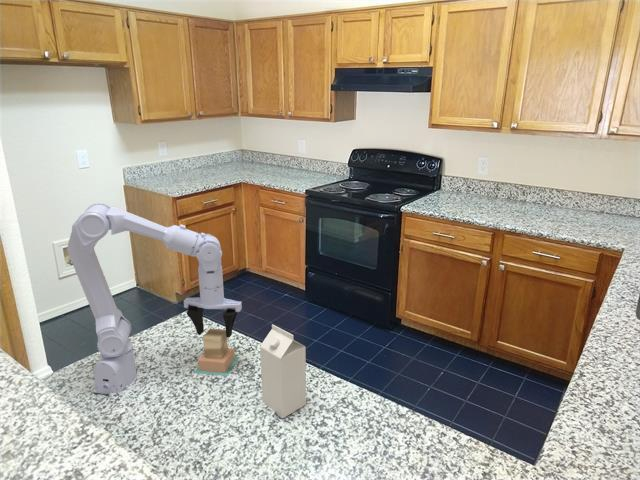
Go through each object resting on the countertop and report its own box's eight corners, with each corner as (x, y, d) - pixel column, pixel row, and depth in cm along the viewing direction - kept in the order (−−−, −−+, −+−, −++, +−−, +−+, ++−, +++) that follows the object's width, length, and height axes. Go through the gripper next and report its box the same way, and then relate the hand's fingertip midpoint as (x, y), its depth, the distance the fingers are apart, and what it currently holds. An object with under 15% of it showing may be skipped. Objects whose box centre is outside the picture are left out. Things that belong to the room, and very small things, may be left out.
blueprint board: (229, 385, 110) (229, 382, 110) (183, 380, 112) (183, 377, 112) (248, 355, 124) (248, 352, 123) (206, 351, 126) (206, 348, 125)
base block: (225, 373, 114) (224, 362, 113) (198, 370, 115) (197, 360, 114) (234, 358, 120) (234, 348, 120) (209, 356, 122) (209, 346, 121)
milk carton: (286, 391, 108) (284, 319, 103) (306, 405, 103) (305, 329, 98) (262, 404, 103) (259, 329, 98) (282, 419, 98) (280, 341, 93)
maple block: (221, 359, 114) (220, 338, 113) (204, 357, 115) (203, 336, 114) (228, 350, 119) (226, 329, 117) (211, 348, 119) (210, 328, 118)
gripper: (244, 280, 114) (247, 329, 118) (190, 277, 116) (194, 324, 120) (235, 291, 107) (237, 342, 111) (177, 287, 110) (182, 337, 114)
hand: (214, 334), depth 115 cm, fingers open, 7 cm apart
